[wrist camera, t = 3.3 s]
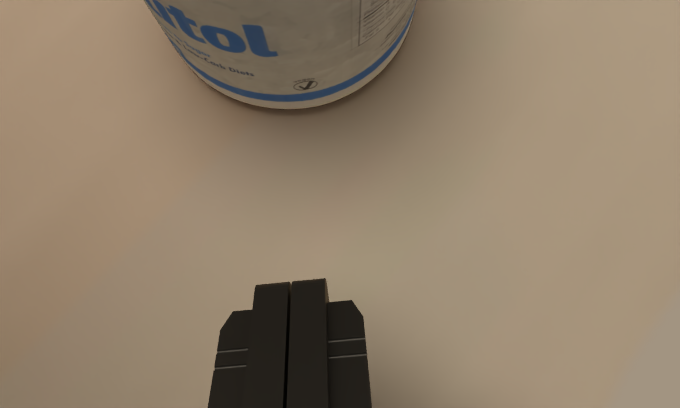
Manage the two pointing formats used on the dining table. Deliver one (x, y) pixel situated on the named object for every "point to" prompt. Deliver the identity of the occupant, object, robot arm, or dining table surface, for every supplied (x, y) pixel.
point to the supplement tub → (285, 45)
